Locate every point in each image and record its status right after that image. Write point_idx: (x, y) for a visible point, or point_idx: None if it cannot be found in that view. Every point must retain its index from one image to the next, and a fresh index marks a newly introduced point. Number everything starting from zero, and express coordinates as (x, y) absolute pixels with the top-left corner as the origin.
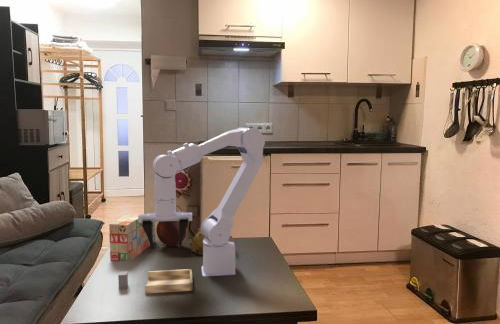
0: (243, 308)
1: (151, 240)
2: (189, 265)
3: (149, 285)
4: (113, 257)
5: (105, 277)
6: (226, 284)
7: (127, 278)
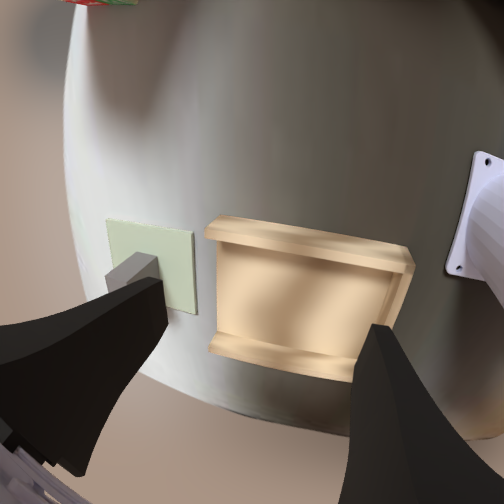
0: None
1: (132, 371)
2: (427, 88)
3: (222, 353)
4: (85, 2)
5: (85, 154)
6: (478, 336)
7: (141, 274)
